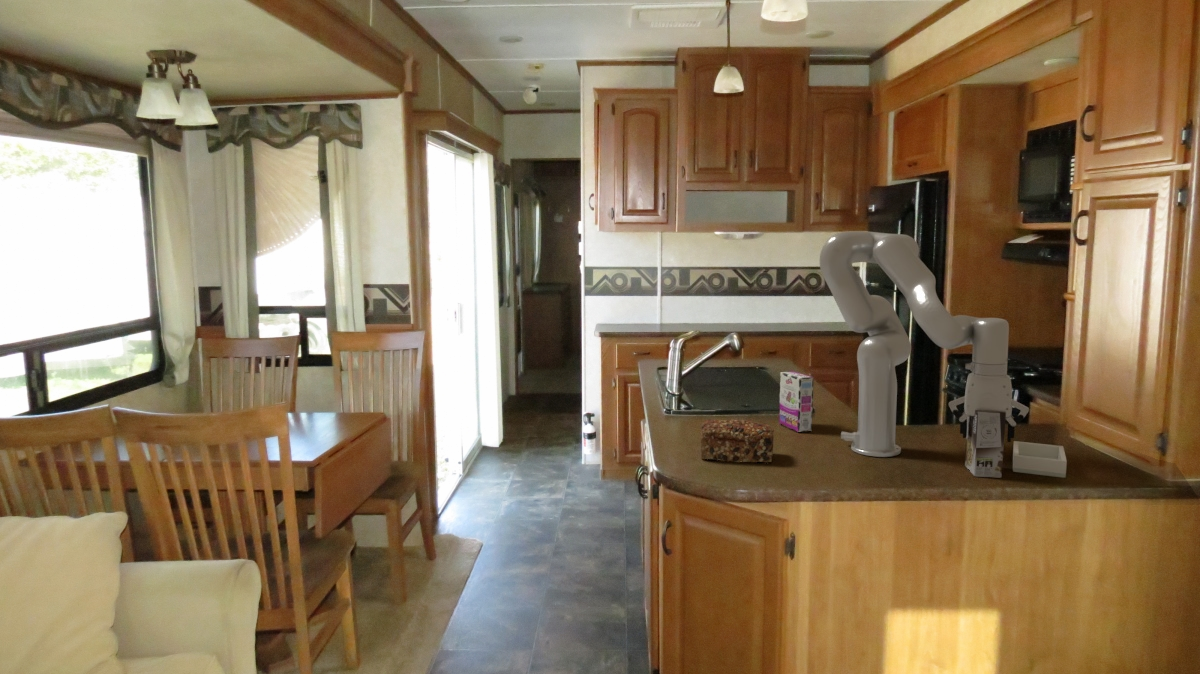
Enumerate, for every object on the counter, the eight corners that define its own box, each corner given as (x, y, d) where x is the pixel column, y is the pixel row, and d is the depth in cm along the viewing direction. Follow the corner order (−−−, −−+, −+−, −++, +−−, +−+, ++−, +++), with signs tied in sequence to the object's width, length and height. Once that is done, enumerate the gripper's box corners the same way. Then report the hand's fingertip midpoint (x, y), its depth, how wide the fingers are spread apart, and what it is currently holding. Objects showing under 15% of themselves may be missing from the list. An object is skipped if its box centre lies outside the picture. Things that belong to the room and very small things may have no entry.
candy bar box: (813, 431, 224) (814, 377, 221) (798, 433, 222) (799, 378, 220) (792, 422, 234) (793, 370, 232) (778, 424, 233) (779, 371, 230)
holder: (1012, 471, 186) (1013, 455, 185) (1012, 455, 198) (1013, 441, 197) (1065, 477, 180) (1066, 461, 180) (1062, 461, 193) (1063, 446, 192)
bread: (699, 461, 198) (699, 424, 197) (703, 449, 208) (703, 414, 207) (772, 465, 194) (773, 427, 192) (773, 453, 204) (774, 417, 203)
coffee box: (1002, 478, 181) (1007, 412, 179) (973, 477, 182) (977, 411, 180) (991, 466, 190) (995, 403, 187) (963, 465, 191) (967, 402, 189)
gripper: (948, 370, 183) (946, 439, 185) (1031, 374, 175) (1027, 446, 177) (950, 365, 190) (948, 431, 192) (1030, 369, 181) (1027, 438, 184)
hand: (986, 438), depth 185 cm, fingers open, 9 cm apart
